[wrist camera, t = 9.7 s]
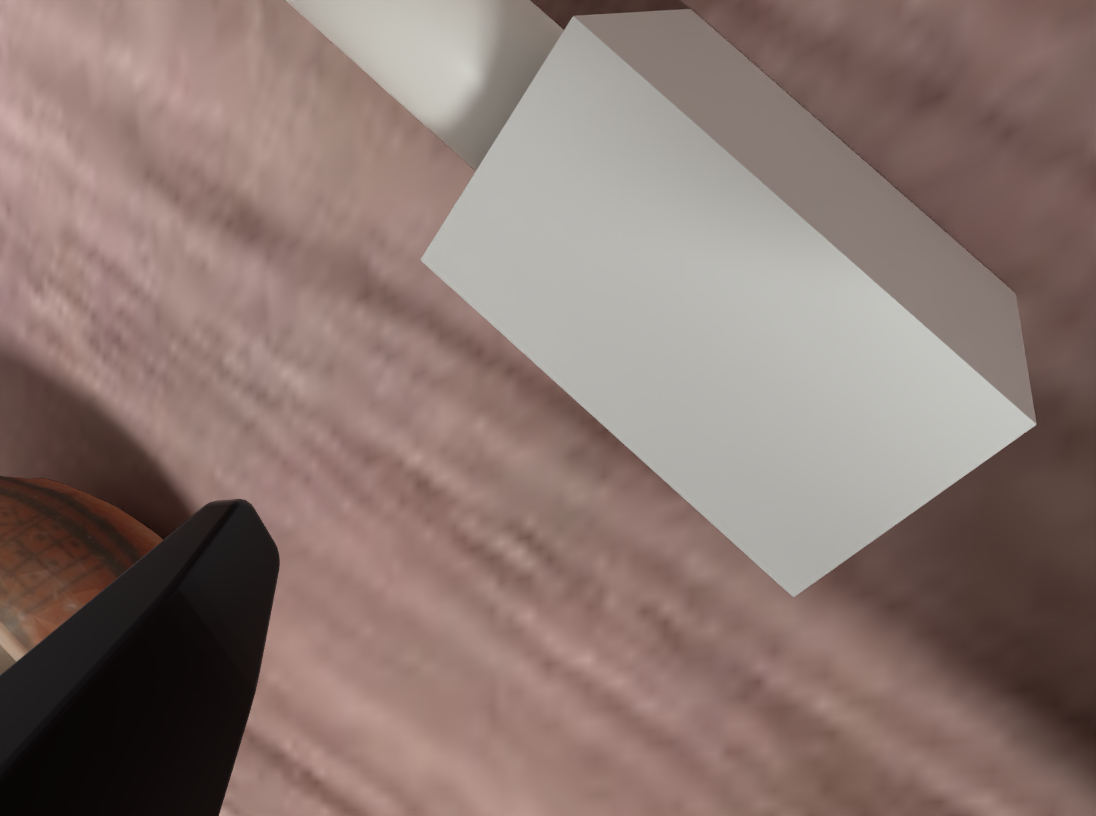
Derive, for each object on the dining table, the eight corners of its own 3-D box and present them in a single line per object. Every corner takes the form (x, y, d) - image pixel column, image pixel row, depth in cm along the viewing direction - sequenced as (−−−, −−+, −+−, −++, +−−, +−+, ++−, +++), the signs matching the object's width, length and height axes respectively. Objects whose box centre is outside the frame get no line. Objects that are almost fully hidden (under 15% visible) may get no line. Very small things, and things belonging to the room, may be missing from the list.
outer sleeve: (1015, 293, 18) (1036, 424, 12) (838, 439, 20) (793, 597, 15) (690, 8, 18) (573, 15, 13) (561, 191, 21) (420, 260, 15)
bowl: (353, 597, 30) (123, 823, 22) (255, 804, 39) (65, 1020, 31) (27, 353, 32) (-295, 476, 24) (3, 601, 41) (-239, 754, 33)
